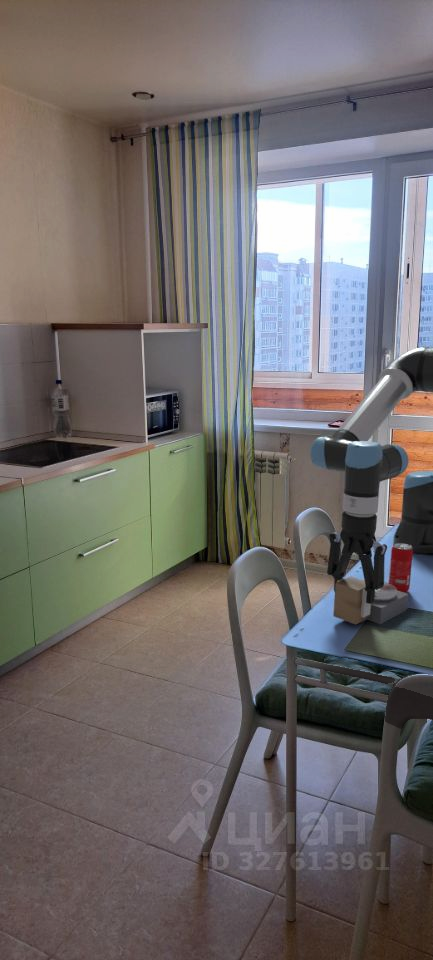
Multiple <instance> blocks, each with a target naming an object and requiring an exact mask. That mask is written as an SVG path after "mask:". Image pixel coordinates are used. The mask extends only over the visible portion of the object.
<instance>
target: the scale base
mask: <svg viewBox="0 0 433 960" xmlns="http://www.w3.org/2000/svg"><path fill="white" fill-rule="evenodd" d="M408 602H409V593H408V592H407V593H404V592H401V591H398V590H397V597H396V599H395V600H393V601H390V602H373V603H372V606H371V617H369V618H367V619H366V620H367V621H371V622H373V623H375V624H378V625H382V624H384V623H385V622H387V621H390V620H391V619H393V618H395V617H396V616H398V615H400V614H402V613H404V612H405V611H407V610H408V605H409V603H408Z"/></svg>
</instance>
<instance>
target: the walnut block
mask: <svg viewBox="0 0 433 960" xmlns="http://www.w3.org/2000/svg"><path fill="white" fill-rule="evenodd" d="M364 588H366V585H365V580H362V579H359V578H357V577H353V576H348V577H346V579H344V580H341V581H339V582H337V583H336V584H335V592H334V600H333V615H332V616H333V617H335V618H337V619H339V620H343V621H346V622H348V623H350V624H354V625H358V624H360V623H362V622H364V621H365V620H367V618H369V617H371V608H370V615H368V616H366V617H364V618H363V617H361V605H362V592H363V589H364ZM371 606H372V603H371Z"/></svg>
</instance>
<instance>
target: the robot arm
mask: <svg viewBox="0 0 433 960" xmlns="http://www.w3.org/2000/svg"><path fill="white" fill-rule="evenodd" d="M377 380H378V381H377V383H376V384H375V385H374V386H373V387H372V388H371V389H370V391H368V393H367V394H366V395H365V397H364V398H363V399H362V400H361V401H360V402H359V403H358V405H357V406H356V407H355V408H354V409H353V410H352V412H351V413H350V414H349V415H348V416H347V418H346V419H345V420H344V421H343V422H342V424H341V425H340V426H339V427H338V428H337V429H336V431H335V432H334V433H333V434H331V436H330V437H328V436H326V435H325V436H320V437H317V438H315V439H314V441H313V442H312V445H311V447H310V451H309V452H310V459H311V462H312V464H313V465H314V466H315V467H318V468H320V469H324V470H328V471H333V472H334V471H335V472H340V473H341V472H342V473H344V487H343V498H342V510H343V512H342V514H341V530H340V532H339V531H335V532H334V531H333V532H332V533H329V536H328V538H329V543H330V546H329V553H328V560H327V561H328V562H327V569H326V571H327V572H326V573H327V575H328V576H332V577H333V579H334V580H333V581H334V583H333V592H334V593H335V584H336V583H337V582H339V581H341V580H344V579H346V578H347V577H346V575H345V574H346V571H347V570H348V569H347V568H348V567H349V563H350V561H351V558H352V556H353V554H355V555H357V556H358V560H359V561H360V564H361V569H362V575H363V579H364V580H363V581H365V585H366V588H364V589H363V592H362V605H361V617H363V618H364V617H366V616H368V615H370V608H371V603H373V602H374V598H375V590H378V589H380V588H382V587H383V586H384V582H385V562H386V561H385V559H386V558H385V555H386V552H387V549H388V545H387V544H381V543H379V542H377V539H376V535H375V533H376V529H377V522H378V515H377V513H378V512H379V511H378V510H379V509H378V508H379V496H380V495H379V493H380V483H381V482H382V481H386V480H390V479H394V478H397V477H399V476H400V475H402V474H404V472H405V471H406V470H407V468H408V466H409V456H408V452H407V451H406V450H405V449H404V448H403V447H402V446H400V445H399V444H395V443H392V444H391V443H387V444H384V445H382V444H380V443H379V442H375V441H369V440H370V439H371V438H372V437H373V435H374V434H375V433H376V432H377V430H378V429H379V428H380V426H381V425H382V424H383V423H384V422H385V420H386V419H387V418H388V417H389V415H390V414H391V413H392V412H393V410H394V409H395V408H396V407H397V406H398V405H399V403H400V402H401V401H402V400H405V399H408V398H409V397H410V396H411V394H414V393H417V392H424V393H433V347H431V346H423V347H416V348H413V349H411V350H409V351H406V352H404V353H403V354H401V355H399V356H398V357H396V358H395V359H393V360H392V361H390V362H389V363H388V364H387V365H386V366H385V367H384V368H383V370H381V372H380V373H379V375H378V377H377ZM402 489H403V490H402V491H403V492H402V501H401V502H402V505H401V516H400V521H399V523H398V526H397V528H396V531H395V533H394V535H393V540H392V545H394V544H396V543H403V544H408V545H410V546H412V550H413V553H414V554H427V555H428V553H433V470H422V471H421V470H420V471H413V472H410V473H408V474H407V475H405V477H404V483H403V487H402ZM342 543H343V547H342ZM341 547H342V550H341ZM372 548H373V553H374V554H372ZM372 558H373V561H372ZM345 577H346V578H345Z"/></svg>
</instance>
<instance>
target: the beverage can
mask: <svg viewBox="0 0 433 960" xmlns="http://www.w3.org/2000/svg"><path fill="white" fill-rule="evenodd" d="M390 552H391V553H390V561H389V562H390V564H389V577H388V583H389V584H391V585H393V586H394V587H396V589H397V590H398V591H401V592H404V593H407V594H408V591H409V590H410V584H411V576H412V575H411V574H412V564H413V563H412V562H413V555H414V554H413V550H412V546H410V545H408V544H403V543H396V544H392V547H391V551H390Z"/></svg>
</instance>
